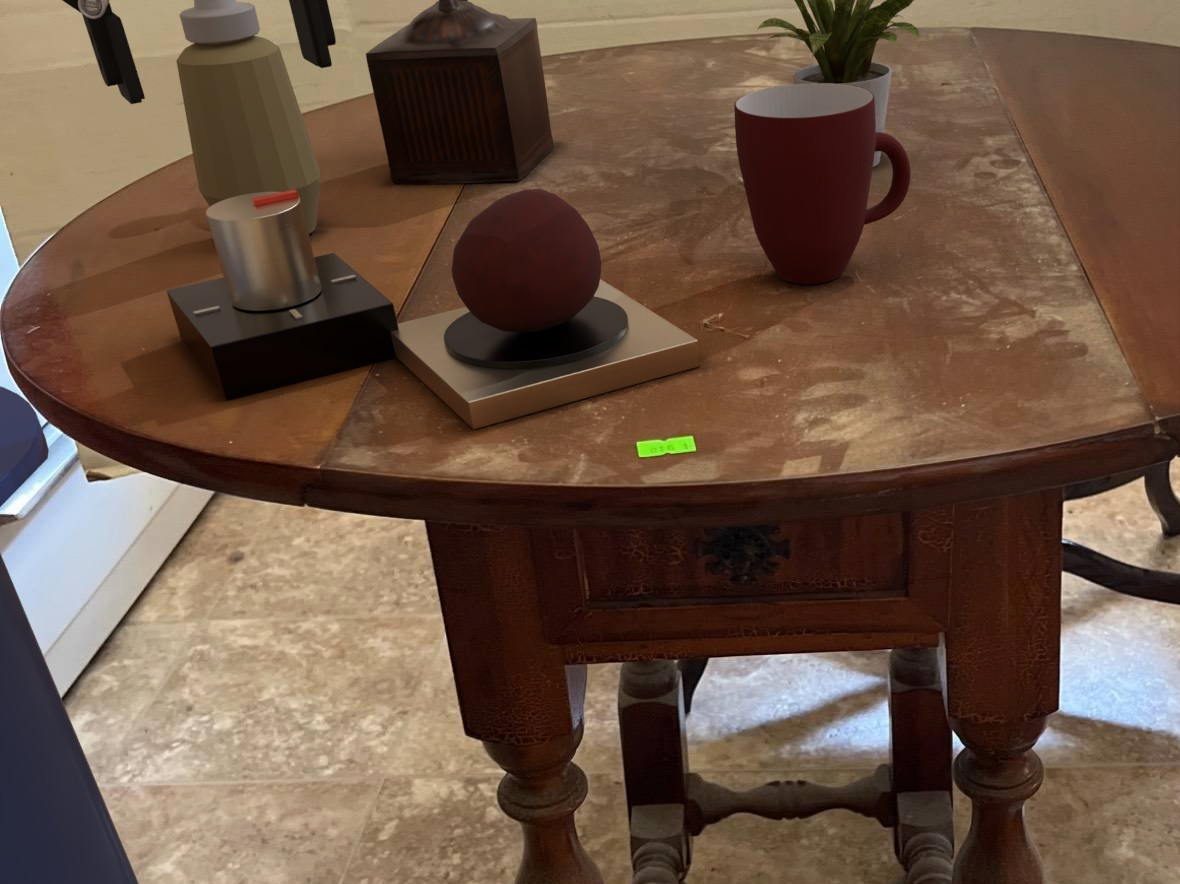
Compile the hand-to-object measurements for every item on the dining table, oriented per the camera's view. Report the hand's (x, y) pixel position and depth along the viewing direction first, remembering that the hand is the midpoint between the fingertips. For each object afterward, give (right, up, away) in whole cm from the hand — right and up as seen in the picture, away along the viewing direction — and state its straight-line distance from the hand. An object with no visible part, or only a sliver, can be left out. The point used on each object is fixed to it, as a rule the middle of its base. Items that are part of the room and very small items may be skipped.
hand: (227, 80), depth 76 cm
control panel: (0, -12, +8) cm, 14 cm away
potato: (+15, -12, +4) cm, 20 cm away
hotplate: (+16, -13, +5) cm, 21 cm away
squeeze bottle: (-6, +1, +26) cm, 27 cm away
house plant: (+32, +8, +32) cm, 46 cm away
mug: (+32, -6, +14) cm, 35 cm away
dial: (0, -9, +7) cm, 11 cm away
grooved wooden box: (+3, +10, +38) cm, 40 cm away
